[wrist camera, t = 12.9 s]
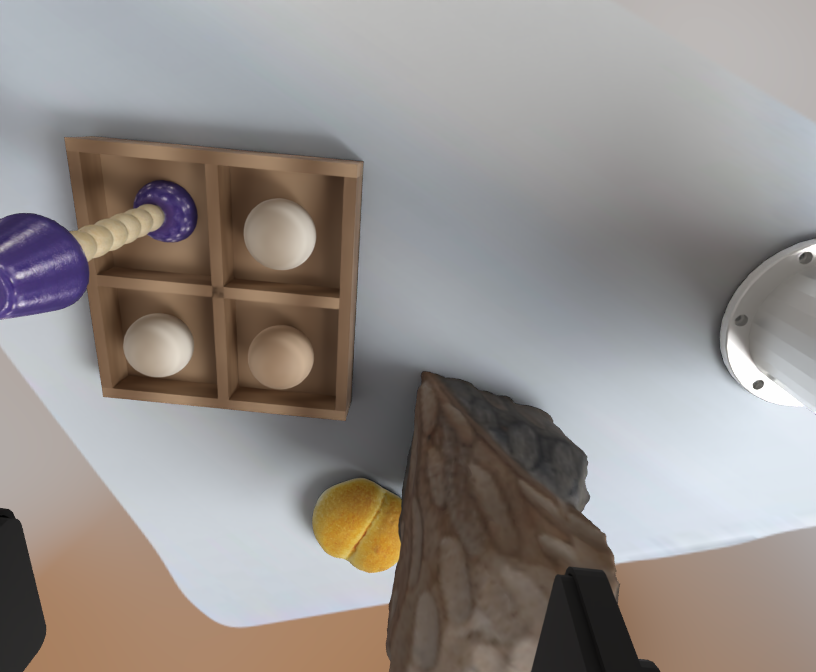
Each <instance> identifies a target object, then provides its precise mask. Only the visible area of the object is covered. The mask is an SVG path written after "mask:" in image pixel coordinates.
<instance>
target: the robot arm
mask: <svg viewBox="0 0 816 672" xmlns="http://www.w3.org/2000/svg"><path fill="white" fill-rule="evenodd" d="M720 350H721V353H722V357H723V360H724V363H725V365H726V367H727V369H728V370H729V372H730V374H731V375H732V376H733V377H734V379H735V380H736V381H737V382H738V383H739V384H740V385H741V386H742V387H744V388H745V389H746V390H747V391H748V392H750V393H751V394H753V395H755V396H757V397H759V398H761V399H763V400H765V401H768V402H771V403H775V404H778V405H786V406H805V407H806V408H807V409H809V410H810V411H811V412H812V413H814V414H815V415H816V238H815V239H812V240H808V241H804V242H800V243H798V244H795V245H793V246H791V247H788V248H786V249H784V250H782V251H780V252H778V253H777V254H775V255H774V256H772V257H770V258H769V259H767V260H766V261H764V262H763V263H762V264H761V265H760V266H758V267H757V268H756V269H755V270H754V271H753V272H751V273H750V274H749V275H748V277H747V278H746V279H745V280H744V281H743V283H742V284H741V285H740V286H739V287H738V288H737V290H736V292H735V293H734V295H733V297H732V298H731V300H730V302H729V303H728V306H727V309H726V311H725V314H724V316H723V319H722V325H721V330H720ZM45 635H46V624H45V620H44V615H43V611H42V607H41V603H40V599H39V595H38V591H37V587H36V583H35V578H34V574H33V570H32V566H31V562H30V558H29V553H28V549H27V545H26V541H25V537H24V533H23V528H22V525H21V523H20V521H19V520H18V519H15V516H14V514H13V512H12V511H10V510H9V509H3V508H0V672H23V671H24V670H25V668H26V667H27V666H28V664H29V663H30V662H31V660H32V659H33V658H34V656H35V655H36V654H37V652H38V651H39V649H40V648H41V646H42V644H43V642H44V639H45ZM531 672H660V670H659V668H657V666H656V665H655V664H654V663H653V662H652V661H649V660H644V659H638V657H637V654H636V652H635V649H634V647H633V644H632V641H631V639H630V636H629V633H628V631H627V628H626V625H625V622H624V620H623V617H622V615H621V612H620V609H619V607H618V604H617V601H616V599H615V596H614V593H613V591H612V588H611V586H610V583H609V580H608V578H607V576H606V574H605V572H604V571H603V570H599V569H589V568H579V567H568V568H567V569H566V572H565V575H559V574H557V575H556V576H555V579H554V582H553V586H552V590H551V594H550V598H549V602H548V606H547V610H546V614H545V618H544V622H543V626H542V630H541V634H540V638H539V642H538V646H537V650H536V654H535V658H534V662H533V666H532V670H531Z"/></svg>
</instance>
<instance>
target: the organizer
mask: <svg viewBox="0 0 816 672" xmlns="http://www.w3.org/2000/svg"><path fill="white" fill-rule="evenodd" d="M64 139H65V146H66V152H67V159H68V165H69V172H70V179H71V185H72V192H73V199H74V205H75V212H76V219H77V225H78V230H79V229H80V228H82V227H84V226H87V225H94V224H95V223H97V222H98V221H100V220H103V219H110V218H111V217H112V216H114V215H116V214H120V213H125V212H126V211H128V210H130V209H133V205H134V200H135V197H136V195H137V193H138V191H139V190H140V189H141V188H142V187H143V186H145V185H146V184H147V183H150V182H152V181H155V180H166V181H171V182H174V183H176V184H178V185H180V186H181V187H183V188H184V189H185V190H186V191H187V192H188V193H189V194H190V195H191V197H192V198H193V200H194V202H195V205H196V208H197V214H198V219H197V225H196V227H195V229H194V231H193V233H192V234H191V235H190V236H189V237H188V238H186V239H184V240H182V241H179V242H173V243H172V242H162V241H158V240H156V239H153V238H152V237H150V236H148V235H145V236H143V237H139V238H137V239H136V240H134V241H133V242H131V243H128V244H124V245H123V246H122V247H120V248H118V249H116V250H113V251H108V252H107V253H106V254H104V255H103V256H100V257H97V258H92V259H91V260H90V261H89V262H88V265H89V283H88V285H87V292H88V299H89V305H90V312H91V319H92V325H93V332H94V339H95V345H96V352H97V358H98V365H99V372H100V378H101V385H102V392H103V397H110V398H120V399H130V400H141V401H151V402H161V403H171V404H181V405H191V406H201V407H211V408H221V409H231V410H241V411H251V412H261V413H271V414H281V415H291V416H301V417H312V418H322V419H332V420H342V421H346V417H347V414H348V411H349V408H350V404H351V399H352V379H353V359H354V340H355V320H356V300H357V280H358V261H359V241H360V221H361V201H362V182H363V162H364V161H354V160H343V159H332V158H321V157H311V156H300V155H289V154H278V153H267V152H257V151H246V150H235V149H224V148H214V147H203V146H192V145H181V144H170V143H160V142H149V141H138V140H127V139H117V138H106V137H95V136H88V137H64ZM276 198H282V199H287V200H291V201H293V202H295V203H297V204H299V205H300V206H302V207H303V208H304V209H305V210H306V211H307V212H308V213H309V215H310V216H311V218H312V220H313V222H314V225H315V229H316V243H315V247H314V249H313V251H312V253H311V255H310V256H309V258H308V259H307V260H306V261H305V262H304V263H302V264H301V265H299V266H297V267H295V268H293V269H288V270H275V269H271V268H268V267H265V266H263V265H262V264H260V263H259V262H258V261H256V260H255V259H254V258H253V256H252V255H251V254H250V252H249V251H248V249H247V247H246V244H245V240H244V225H245V222H246V219H247V217H248V215H249V214H250V212H251V211H252V210H253V209H254V208H255V207H256V206H257V205H258V204H260V203H262V202H264V201H266V200H270V199H276ZM154 313H164V314H169V315H172V316H175V317H177V318H179V319H180V320H182V321H183V322H184V323H185V324H186V325H187V326H188V328H189V329H190V331H191V333H192V335H193V339H194V351H193V355H192V357H191V359H190V361H189V362H188V364H187V365H186V366H185V367H184V368H183V369H182V370H180V371H179V372H177V373H175V374H173V375H170V376H166V377H151V376H147V375H144V374H142V373H140V372H138V371H137V370H135V369H134V368H133V367H132V366H131V365H130V364H129V362H128V361H127V359H126V357H125V354H124V349H123V343H124V337H125V335H126V332H127V330H128V329H129V327H130V326H131V325H132V324H133V323H134V322H135V321H136V320H138V319H139V318H141V317H143V316H146V315H149V314H154ZM275 325H287V326H291V327H294V328H296V329H298V330H300V331H301V332H302V333H303V334H304V335H305V336H306V337H307V338H308V339H309V341H310V343H311V345H312V348H313V352H314V362H313V366H312V369H311V371H310V373H309V374H308V376H307V377H306V378H305V379H304V380H303V381H302V382H301V383H300V384H298V385H296V386H294V387H292V388H288V389H273V388H269V387H267V386H265V385H263V384H262V383H260V382H259V381H258V380H257V379H256V378H255V377H254V376H253V374H252V372H251V370H250V368H249V364H248V351H249V347H250V345H251V343H252V341H253V339H254V338H255V337H256V336H257V335H258V334H259V333H260V332H261V331H263V330H264V329H266V328H268V327H271V326H275Z"/></svg>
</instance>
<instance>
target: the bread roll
mask: <svg viewBox="0 0 816 672" xmlns="http://www.w3.org/2000/svg"><path fill="white" fill-rule="evenodd" d="M401 503H402V499H401V498H400V497H399V496H397V495H396V494H393V493H391V492H390V491H388V490H386V489H383V488H382V487H381V486H380V485H378V484H377V483H375V482H373V481H370V480H368V479H365V478H355V479H351V480H348V481H345V482H342V483H339V484H337V485H334V486H332V487H330V488H328V489H327V490H325V491H324V492H323V493H322V494H321V496H320V497H319V499H318V500H317V503H316V506H315V508H314V511H313V517H312V525H313V531H314V534H315V537H316V539H317V541H318V543H319V544H320V546H321V547H322V549H323V550H324V551H325V552H326V553H328V554H329V555H331V556H333V557H336V558H343V559H345V560H347V561H349V562H350V563H351V564H352V565H353V566H354V567H356V568H357V569H359V570H362V571H365V572H368V573H375V572H381V571H384V570H387V569H389V568H390V567H392V566H393V565H394V564H395V563H397V562H398V559H399V555H400V546H401V542H400V539H399V534H398V523H399V517H400V514H401Z"/></svg>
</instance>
